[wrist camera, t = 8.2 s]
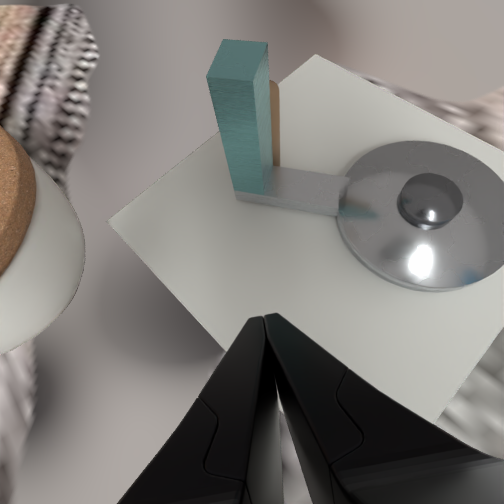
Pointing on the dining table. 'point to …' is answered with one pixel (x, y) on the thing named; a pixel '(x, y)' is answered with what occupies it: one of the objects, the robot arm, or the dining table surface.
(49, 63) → the dining table surface
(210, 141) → the clock board
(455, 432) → the dining table surface
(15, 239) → the lidded bowl
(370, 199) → the flange plate
